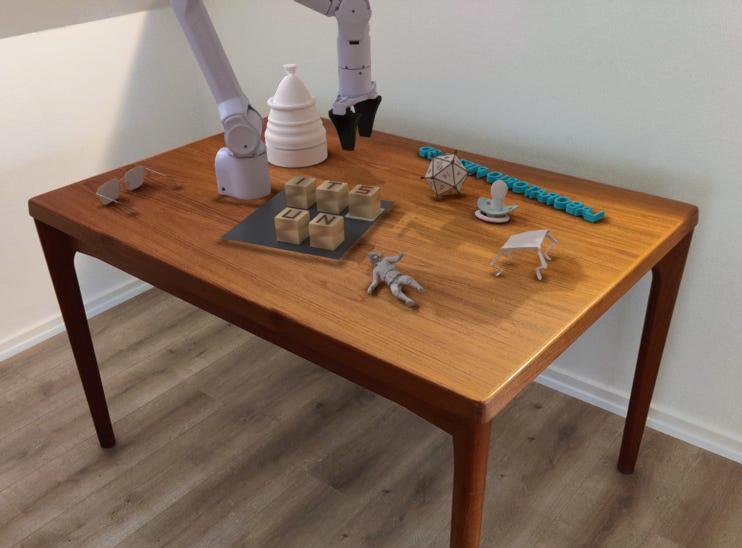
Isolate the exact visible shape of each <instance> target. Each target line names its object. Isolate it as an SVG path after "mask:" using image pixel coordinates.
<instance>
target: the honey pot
mask: <svg viewBox="0 0 742 548" xmlns="http://www.w3.org/2000/svg"><path fill="white" fill-rule="evenodd" d="M282 68H283V71H284V72H285V74H286V75H285V76H284V77H283V78H282V79H281V81H280V83H279V85H278V86H277V89H276V91H275V93H274V95H272V96H270V97H269V98H268V99H267V101H266V104H267V106H268V107H269V108H270V111H269V114H268V117H267V120H268V121H267V122H266V129H265V131H264V138H265V139H264V144H265V145H266V148H267V157H268V163H270V164H271V165H273V166H275V167H276V166H277V167H283V168H303V167H310V166H315V165H318V164H320V163H322V162H324V161H325V160H326V159H327V158H328V141H327V140H328V139H327V130H326V127H325V126H324V125H323V120H322V119H321V114H320V112H319V111H318V109H317V106H316V103H317V98H316V96H314V95H313V94H311V93H310V91H309V89H308V88H307V86H306V85H305V84H304V82H303V81H302V79H301V78H300V77H298V76H297V75H295V73H296V72H297V64H296V63H286V64H285V63H284V64H283V67H282Z"/></svg>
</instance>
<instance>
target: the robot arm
mask: <svg viewBox="0 0 742 548" xmlns="http://www.w3.org/2000/svg"><path fill="white" fill-rule="evenodd" d="M293 2H295V3H296V4H298V5H299V4H300V5H301V6H303V7H306V8H308V9H310V10H312V11H314V12H317V13H319V14H320V15H323V16H325V17H327V18H332V17H334V18H335V19H336V22H337V36H336V52H337V53H336V55H337V56H336V57H337V77H338V91H337V94H336V96H335V100H334V101H333V102H332V108H331V109H329V110H328V115H327V116H328V118H329V120H330V121H331V122H332V124H333V126H334V128H335V130H336V133H337V136H338V140H339V143H340V146H341V150H342V151H347V152H354V151H355V148H356V141H357V132H358V135H359V137H361V138H368V139H369V138H371V137H372V133H373V129H374V124H375V119H376V115H377V112H378V109H379V107H380V105H381V102H382V100H383V96H382V95H379V94H378V92H377V81H376V80H372V57H371V56H372V48H371V47H372V46H371V43H372V42H371V35H370V31H371V26H370V25H371V24H370V20H371V18H372V13H373V10H372V9H371V3H370V0H293ZM169 3H170V6H171V8H172V10H173V12H174V14H175V17H176V19H177V22H178V23H179V26H180V28H181V29H182V31H183V34H184V36H185V38H186V40H187V42H188V45H189V46H190V48H191V51H192V54H193V55H194V57H195V60H196V62H197V63H198V66H199V68H200V71H201V73H202V75H203V77H204V79H205V81H206V82H207V85H208V88H209V89H210V91H211V95H212V96H213V98H214V100H215V102H216V104H217V108H218V113H219V114H218V115H219V120H220V123H221V124H222V127H223V131H224V135H223V137H224V143H225V145H226V146H224V147H221V148H220V149H219V150H218V151H217V152H216V155H215V158H214V159H215V160H214V170H215V171H214V172H215V175H216V176H215V177H216V184H217V191H218V194H219V195H223V196H229V197H233V198H237V199H240V200H245V201H246V200H247V201H248V200H249V201H250V200H258V199H262V198H265V197H267V196H269V195H270V194H271V193H272V187H271V186H272V185H271V176H270V167H269V161H268V157H267V148H266V144H265V142H264V141H263V139H262V133H263V131H264V124H265V123H264V119H263V116H262V114H261V113H260V112H259V111H258V110H257V109H256V108H255V107H254V106H253V104H252V103H251V102H250V99H249V97H248V96H247V95H246V93H244V91H243V90H242V87H241V85H240V83H239V81H238V80H239V79H238V78H237V76H236V74H235V71H234V70H233V67H232V64H231V61H230V60H229V58H228V55H227V53H226V51H225V49H224V46H223V43H222V42H221V40H220V37H219V35H218V33H217V30H216V29H215V26H214V23H213V21H212V18H211V17H210V15H209V12H208V10H207V8H206V6H205V3H204V1H203V0H169ZM352 107H353V110H352Z"/></svg>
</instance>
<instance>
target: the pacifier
mask: <svg viewBox="0 0 742 548" xmlns="http://www.w3.org/2000/svg"><path fill="white" fill-rule="evenodd" d="M507 193H508V189H507V185H506V183H505V182H503V181H501V180H498V181H495V182H494V183H491V188H490V195H491V196H492V199H490V198H489V197H485V196H480V197H479V198H478V199H477V206H478V208H479V209H477V210H476V211H475V212H474V215H475V217H476V218H478V219H480V220H482V221H485V222H489V223H494V224H495V223H499V224H501V223H507V222H509V220H510V219H511V218H510V216H509V214H510V213H512V212H514V211H516V210H517V209H518V208H519V204H513V205H506V206H505V205H504V204H505V203H504V202H505V197H506V196H507ZM484 214H486V215H484Z"/></svg>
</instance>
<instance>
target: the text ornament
mask: <svg viewBox="0 0 742 548" xmlns="http://www.w3.org/2000/svg"><path fill="white" fill-rule="evenodd" d="M430 153H431V154H433V155H434V157H435V156H442V155H443V154H442V151H441V150H440V149H435V147H432V146H422V147H420V148H419V156H420V157H423V158H426V157H427V159H428V160H430V161H431V160H432V157H431V156H430ZM449 154H450V153H448V152H446V153H445V155H449ZM459 160H460V161H461V162H462V164H463V165H464V166H465V168H466V169H467V170H468V171H469V170H470V171H473V172H472V173H468V175H470V176H472V174H475V173H476V178H477V179H479V178H483V177H485V176H486V182H488V183H491V184H493V183H494V182H495V181H498V180H501V181H503V182H505V183H506V185H507V190H510V189H512V192H514V193H516V194H524V195H523V196H524V197H528V196H529V198H528V199H537V202H540V203H541V204H543V203H546V205H547V206H549V205H552V204H553V207H554V209H557V210H565V212H566V213H567V214H570V215H574V216H575V217H577V216H582V217H583V219H584V220H585V221H589V222H591V223H595V222H597V221H599V220H601V219H604V218H605V213H606V211H604V210H601V211H599V212H596V213H595V214H592V211H593V206H585V203H583V202H581V201H578V200H577V201H576V200H575V201H572V200H571V198H569V197H567V196H560V194H559V193H556V192H548V193H547V190H548V189H546V188H545V189H541V187H540V186H537V185H535V184H530V187H529V182H527V181H522V180H521V181H520V179H518V178H515V177H511V176H510V175H507V174H505V175H504V176H503V173H502V172H499V171H491V172H490V168H488V167H486V166H482V165H481V164H476V162H472V161H469V160H467V159H464V158H461V159H459Z"/></svg>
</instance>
